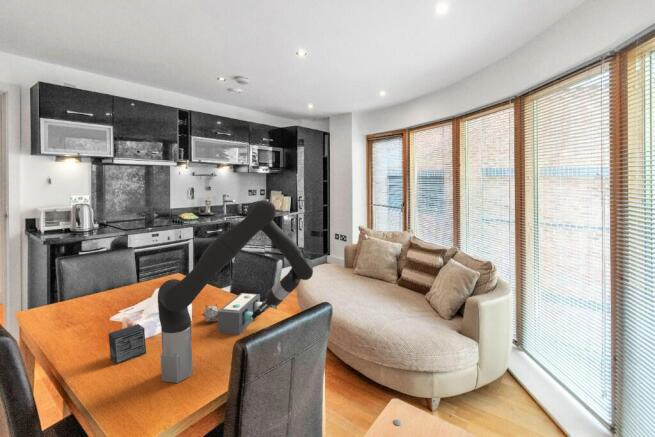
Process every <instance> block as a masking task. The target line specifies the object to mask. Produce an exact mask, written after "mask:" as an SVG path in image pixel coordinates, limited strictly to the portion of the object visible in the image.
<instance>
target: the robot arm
mask: <svg viewBox="0 0 655 437" xmlns="http://www.w3.org/2000/svg"><path fill="white" fill-rule="evenodd" d="M276 214H277V209H276V206H275V204H274V203H273V202H271V201H270V200H264V199H263V200H257V201H253V202H251V203H250V204H249V205H248V206H247V209H246V216H245V217H244V218H243V219H242V220H241V221H240V222H239V223H237V224H236V225H234V226H233V227H230V228H229V229H227V230H226V231H224V232H223V233H222V234H220V235H219V236H218V237H217V238H216V239H215V240H214V241H212V243H210V244H209V245H208V246H207V247H206V248H205V249H204V251H203V253H202V255H201V256H200V257H199V259H198V261H197V263H196V265H195V266H194V268H193V269H192V270H191V271H190V272H189V273H188V274H187V275H186V276H184V277H183V278H182V279H181V280H180V279H176V278H171V279H168V280H166V281H164V282H163V283H162V284H161V285H160V287H159V288H158V291H157V310H158V318H159V322H160V327H161V328H160V329H161V347H162V348H161V349H162V352H161V354H160V367H161V368H160V370H161V382H167V383H175V384H179V383H180V382H182V381H184V380H186V379H188V378H189V377H191V375H193V371H194V369H193V367H194V366H193V344H192V343H193V342H192V340H193V338H192V320H191V319H192V318H191V315H190V313H189V310H188V307H189V306H190V305H191V304H192V303H193V301H194V300H195V299H196V298H197V297H198V296H199V294H200V293H201V292H202V290H203V289H204V288H205V287H206V286H207V285H208V284H209V283H210V282H211V280H212V279H214V278H215V277H216V276H217V275H218V274H219V273H220V272H221V270H222V269H223V268H225V266H227V265H228V264H229V263H230V262H231V261H233V259H234V258H235V257H236V256H237V255H238V253H240V251H241V250H242V249H244V247H245V246H246V245H247V244H248V243H249V242H250V241H251V240H252V239H253V238H254V237H255V236H256V235H257V233H259V232H260V231H261V232H263V234H264V235H266V237H268V239H269V240H270V241H271V243H273V245H274V246H276V248H277V249H278V251H279V252H280V253H281V254H282V256H283V257H284V258H285V259H286V261H287V262H288V263H289V265H290V267H291V269H290V270H289V271H288V273H287V274H286V275H285V276H284V277H283V278H281V280H279V281H278V282H276V283H275V285H273V286H272V287H271V288H270V289H269V290H268V291H266V294H265V298H266V299H264V300H263V301H261V302H262V304H261V305H260V306H259V308H258V309H257V310H256V311H255V312H254V313H253V314H252V315H251V317H252V318H253V319H254V320H256V318H257V317H259V316H261V315H262V313H265V312H266V311H267V310H270V309H271V307H272V306H273V307H274V306H275V307H278V306H279V305H280V304H281V303H282V302H283V301H284V300H286V298H287V297H289V295H290V294H291V293H292V292H293V291H294V290H295V289H296V288H297V287H298V286H299V284H300V282H301V280H302V281H308V280H309V279H311V278H312V276H313V274H314V269H313V263H312V261H311V259H310V258H308V257H304V256H303V253H302V250H301V248H300V247H299V246H298V245H297V243H296V242H295V241H294V240H293V238H291V237H290V235H289V234H287V233H286V232H285V231H284V230H282V229H281V228H280V227H279V226H278V225H277V223H276V222H275V221H274V218H275V217H276Z"/></svg>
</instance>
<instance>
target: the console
mask: <svg viewBox="0 0 655 437" xmlns="http://www.w3.org/2000/svg"><path fill="white" fill-rule="evenodd" d="M255 302H261V294H260V293H247V292H241V293H239V294H237V296H236V297H234V298H233V299H231V300H230V301H229V302H228V303H226V304H225V305H224V306H223V307H221V308H220V309H218V318H217V327H218V328H217V329H218V332H217V333H218V334H227V335H235V336H240V335H241V334H242V333H243V332H244V331H245V330H246V329H247V328H248V327H249V326H250V325H251V323H253V321H254V320H255V319H252V321H251V322H246V321H243V315H244V312H245V311H249V312H253V313H254V312H255V311H254V303H255Z"/></svg>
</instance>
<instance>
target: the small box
mask: <svg viewBox="0 0 655 437" xmlns="http://www.w3.org/2000/svg"><path fill="white" fill-rule="evenodd" d="M145 333H146V332H145V327H143V326H142V325H141V324H139V323H137V324H134V325H131V326H127V327H124V328H121V329H118V330H115V331H112V332H108V343H109V344H108V345H109V355H110V361H112V362H113V364H114V365H116V364H117V365H119V363H120V364H122V363H124V361H125V362H127V361H130V360H132V358H133V359H135V358H137V357H140V356H143V355H145V354H147V346H146V345H147V344H146V334H145Z"/></svg>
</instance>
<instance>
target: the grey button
mask: <svg viewBox="0 0 655 437" xmlns="http://www.w3.org/2000/svg"><path fill="white" fill-rule="evenodd" d="M262 302H263V301H260V302H255V303H254V311H256V310H257V309H258V308H259V306H260V305H261V304H262Z"/></svg>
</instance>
